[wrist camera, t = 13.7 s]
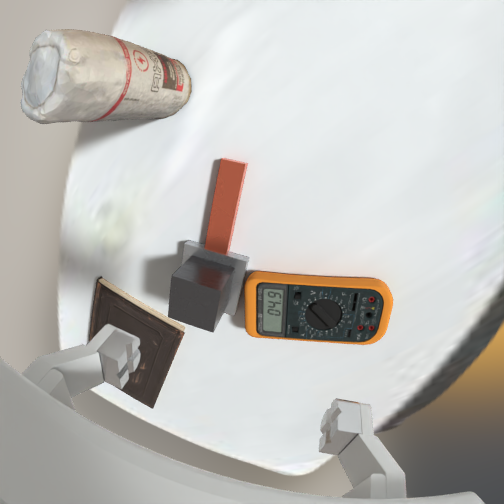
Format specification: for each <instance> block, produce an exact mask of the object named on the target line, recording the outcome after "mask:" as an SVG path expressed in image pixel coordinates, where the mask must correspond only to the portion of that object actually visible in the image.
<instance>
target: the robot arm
mask: <svg viewBox="0 0 504 504" xmlns="http://www.w3.org/2000/svg"><path fill="white" fill-rule="evenodd" d="M139 345H140V339H139V338H138V337H136V336H134V335H131V334H129V333H127V332H125V331H123V330H121V329H119V328H116V327H114V326H112V325H110V324H107V325H105V326H104V327H103V328H102V329H101V330H100V331H99V332H98V333H97V334H96V335H95V336H94V338H93V339H92V340H91V341H90V342H89V343H88V344H87V345H86V346H85V345H79V346H76V347H72V348H69V349H65V350H62V351H58V352H54V353H51V354H47V355H44V356H40V357H38V358H37V359H36V360H35V361H34V362H33V363H32V364H31V365H30V366H29V367H28V368H27V369H26V370H25V371H24V372H23V373H22V374H20V373H19V372H18V371H17V370H15V369H14V368H13V367H12V366H10V365H9V364H8V363H7V362H6V361H4V360H3V359H2V358H1V357H0V504H484V503H483V501H482V500H481V499H480V498H479V497H478V496H477V495H476V494H475V493H474V492H463V493H456V494H449V495H441V496H432V497H421V498H407V497H406V482H405V473H404V472H403V471H402V469H401V468H400V467H399V465H398V464H397V463H396V461H395V460H394V459H393V457H392V456H391V455H390V453H389V452H388V451H387V449H386V448H385V447H384V446H383V444H382V443H381V441H380V440H379V439H378V438H377V436H374V433H373V421H372V410H371V406H370V404H364V403H358V402H353V401H348V400H342V399H337V398H336V399H335V400H334V401H333V402H332V404H331V408H330V409H328V410H327V411H326V412H325V414H324V416H323V419H322V422H321V429H320V430H321V432H322V433H323V435H322V437H321V438H320V443H319V452H322V453H327V454H333V455H338V458H339V460H340V462H341V464H342V466H343V468H344V470H345V472H346V474H347V476H348V478H349V480H350V482H351V484H352V486H353V489H352V490H350V491H349V492H348V493H346V494H345V495H343V496H342V497H331V496H322V495H313V494H306V493H298V492H292V491H286V490H281V489H276V488H271V487H266V486H261V485H257V484H252V483H248V482H244V481H240V480H236V479H232V478H229V477H225V476H221V475H218V474H215V473H212V472H209V471H205V470H202V469H199V468H196V467H193V466H190V465H188V464H185V463H182V462H179V461H177V460H174V459H171V458H169V457H166V456H164V455H161V454H159V453H156V452H154V451H152V450H149V449H147V448H145V447H143V446H140V445H138V444H136V443H134V442H132V441H129V440H127V439H125V438H123V437H121V436H119V435H117V434H115V433H113V432H111V431H109V430H108V429H105V428H104V427H102V426H100V425H98V424H96V423H95V422H93V421H91V420H89V419H88V418H86V417H84V416H82V415H81V414H79V413H77V412H76V411H75V407H74V404H73V402H72V399H71V398H72V397H74V396H76V395H78V394H80V393H83V392H85V391H87V390H89V389H91V388H93V387H95V386H98V385H100V384H102V383H104V381H105V382H107V383H109V384H111V385H113V386H115V387H118V388H120V389H122V388H123V387H124V385H125V384H126V382H127V381H128V379H129V373H132V372H134V371H135V369H136V368H137V366H138V363H139V361H140V351H139V349H138V347H139Z"/></svg>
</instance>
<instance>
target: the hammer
mask: <svg viewBox="0 0 504 504" xmlns="http://www.w3.org/2000/svg"><path fill="white" fill-rule="evenodd" d="M247 165H248V163H244V162H240V161H235V160H231V159H226V158H222V159H221V162H220V167H219V172H218V177H217V183H216V188H215V193H214V198H213V204H212V209H211V214H210V220H209V226H208V231H207V237H206V243H205V244H201V243H198V242H194V241H191V240H188V241H187V242H186V243H184V250H183V257H182V265H183V264H184V263H185V262H186V261H187V260H188V259H189V258H190V257H191V256H192V255H193V256H197V257H200V258H204V259H207V260H210V261H214V262H217V263H220V264H224V265H227V266H231V267H234V268H235V272H234V276H233V281H232V285H231V290H230V295H229V299H228V304H227V307H226V309H225V311H224V313H226V314H230V315H233V316H234V315H235V313H236V311H237V307H238V303H239V299H240V294H241V290H242V286H243V282H244V278H245V273H246V269H247V265H248V261H249V257H247V256H243V255H240V254H236V253H233V252H229V249H230V244H231V239H232V234H233V230H234V225H235V220H236V215H237V211H238V206H239V201H240V197H241V192H242V187H243V183H244V178H245V174H246V169H247ZM182 265H181V266H182Z"/></svg>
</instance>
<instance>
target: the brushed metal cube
mask: <svg viewBox="0 0 504 504" xmlns="http://www.w3.org/2000/svg"><path fill="white" fill-rule="evenodd" d="M234 272H235V268H234V267H231V266H227V265H224V264H220V263H217V262H214V261H210V260H207V259H204V258H200V257H197V256H193V255H192V256H191V257H190V258H189V259H188V260H187V261H186V262H185V263H184V264H183V265H182V266H181V267H180V268H179V269H178V270H177V271H176V272H175V273H174V274H173V275H172V279H171V289H170V299H169V311H168V317H169V318H172V319H175V320H178V321H180V322H183V323H186V324H189V325H192V326H195V327H198V328H201V329H204V330H207V331H210V332H214V330H215V328H216V326H217V324H218V323H219V321H220V319H221V317H222V315H223V313H224V311H225V309H226V307H227V304H228V299H229V295H230V290H231V285H232V281H233V276H234Z"/></svg>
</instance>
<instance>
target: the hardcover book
mask: <svg viewBox="0 0 504 504" xmlns="http://www.w3.org/2000/svg"><path fill="white" fill-rule="evenodd" d="M107 324H110V325H112V326H114V327H116V328H119V329H121V330H123V331H125V332H127V333H129V334H131V335H134V336H136V337H138V338H139V339H140V345H139V347H138V349H139V351H140V361H139V363H138V366H137V368H136V369H135V371H134V372H132V373H129V379H128V381H127V382H126V384H125V385H124V387H123V388H122V389H120V388H118V387H116V388H118V389H120V390H121V391H123V392H125V393H126V394H128V395H130V396H131V397H133V398H135V399H136V400H138V401H140V402H142V403H143V404H145V405H147V406H149V407H150V408H152V409H153V408H154V405H155V403H156V400H157V398H158V395H159V393H160V390H161V388H162V385H163V383H164V381H165V378H166V376H167V373H168V371H169V369H170V366H171V364H172V361H173V359H174V357H175V354H176V352H177V350H178V347H179V345H180V343H181V340H182V338H183V336H184V329H185V327H184V326H182V325H181V324H179V323H177V322H175V321H173V320H171V319H170V318H168V317H166V316H164V315H163V314H161V313H159V312H157V311H156V310H154V309H152V308H150V307H149V306H147V305H145V304H144V303H142V302H140V301H139V300H137V299H135V298H134V297H132V296H130V295H129V294H127V293H125V292H124V291H122V290H121V289H119V288H117V287H116V286H114V285H113V284H111V283H109V282H108V281H106V280H105V279H103V278H102V277H100V278H98V279H97V283H96V289H95V295H94V302H93V310H92V317H91V326H90V335H89V342H90V341H91V340H92V339H93V338H94V336H95V335H96V334H97V333H98V332H99V331H100V330H101V329H102V328H103V327H104V326H105V325H107Z"/></svg>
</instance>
